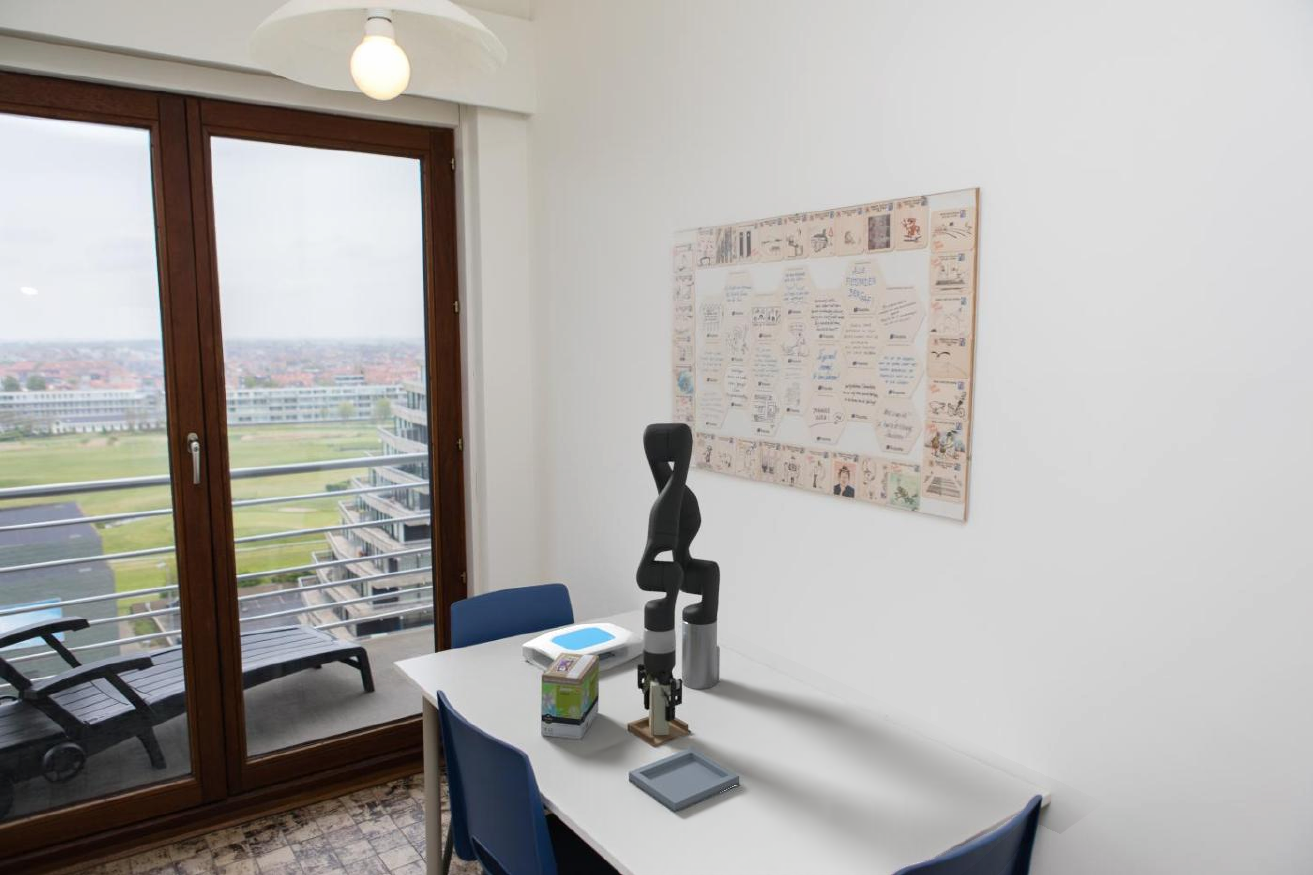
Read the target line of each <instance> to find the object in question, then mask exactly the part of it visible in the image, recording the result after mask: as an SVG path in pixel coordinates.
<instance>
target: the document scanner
mask: <svg viewBox="0 0 1313 875" xmlns="http://www.w3.org/2000/svg"><path fill="white" fill-rule="evenodd" d="M607 652H608V653H610V654H613V656H611V657H608V658H604V659H602V660H599V672H601V671H605V670H608V669H611V668H615V667H617V666H620V665H624V664H627V663H628V662H630V661H632V660H633V659H635V658H637V657H639V656H640V655H641V654H642V655H643V639H642V638H640V637H639V636H638V635H637V634H636V633H635V632H633V631H630V630H628V629H627V628H624V627H621V626H618V625H616V624H614V623H611V622H605V623H604V622H602V623H601V622H600V623H598V622H597V623H586V624H585V623H584V624H576V625H571V626H568V627H564V628H561V629H557V630H554V631H553V630H552V631H550V632H546V633H543V634H542V635H539V636H538V637H535V638H533V639H531V640H529V641H527V642H525V643H523V644H522V657H524V658H525V659H526V661H527V662H528V664H530V665H531V666H533V665H534V666H536V667H538V668H539V669H538V668H537V669H538V670H540V669H541V670H540V671H542V670H543V671H542V672H544V671H546V670H547V669H548V667H549V666H550V665H551V664H552V663H553V662H554V661H555V660H556V658H557V657H558V656H559V655H560V654H561V653H571V654H581V655H593V656H599V655H600V654H604V653H607ZM534 666H533V667H534ZM536 667H535V668H536Z"/></svg>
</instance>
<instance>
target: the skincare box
mask: <svg viewBox="0 0 1313 875" xmlns="http://www.w3.org/2000/svg"><path fill="white" fill-rule="evenodd" d="M669 686H670V684H668V685H667V686H663V685H661V686H660V685H658V684H656V683H655V680H653V679H652V680H650V699H649V710H648V715H649V728H650V734H651V735H669V722H667V721H666V720H665V706H666V704H665V701H664V698H663V697H661V687H662V688H663V689H664V691H665V692H669V693H670V687H669ZM668 699H669V700H670V695H668Z"/></svg>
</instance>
